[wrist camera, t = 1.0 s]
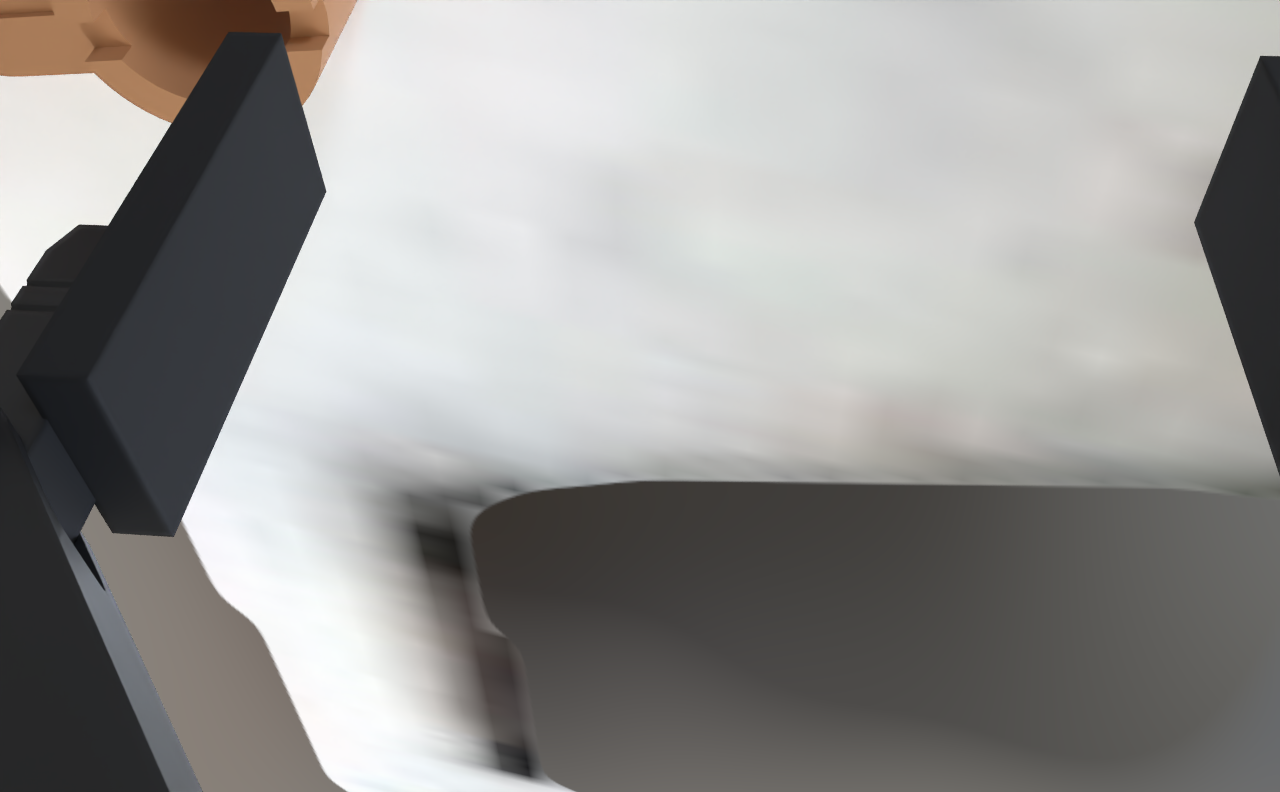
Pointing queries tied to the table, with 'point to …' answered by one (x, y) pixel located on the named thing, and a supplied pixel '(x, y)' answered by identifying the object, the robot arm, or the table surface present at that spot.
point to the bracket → (160, 41)
